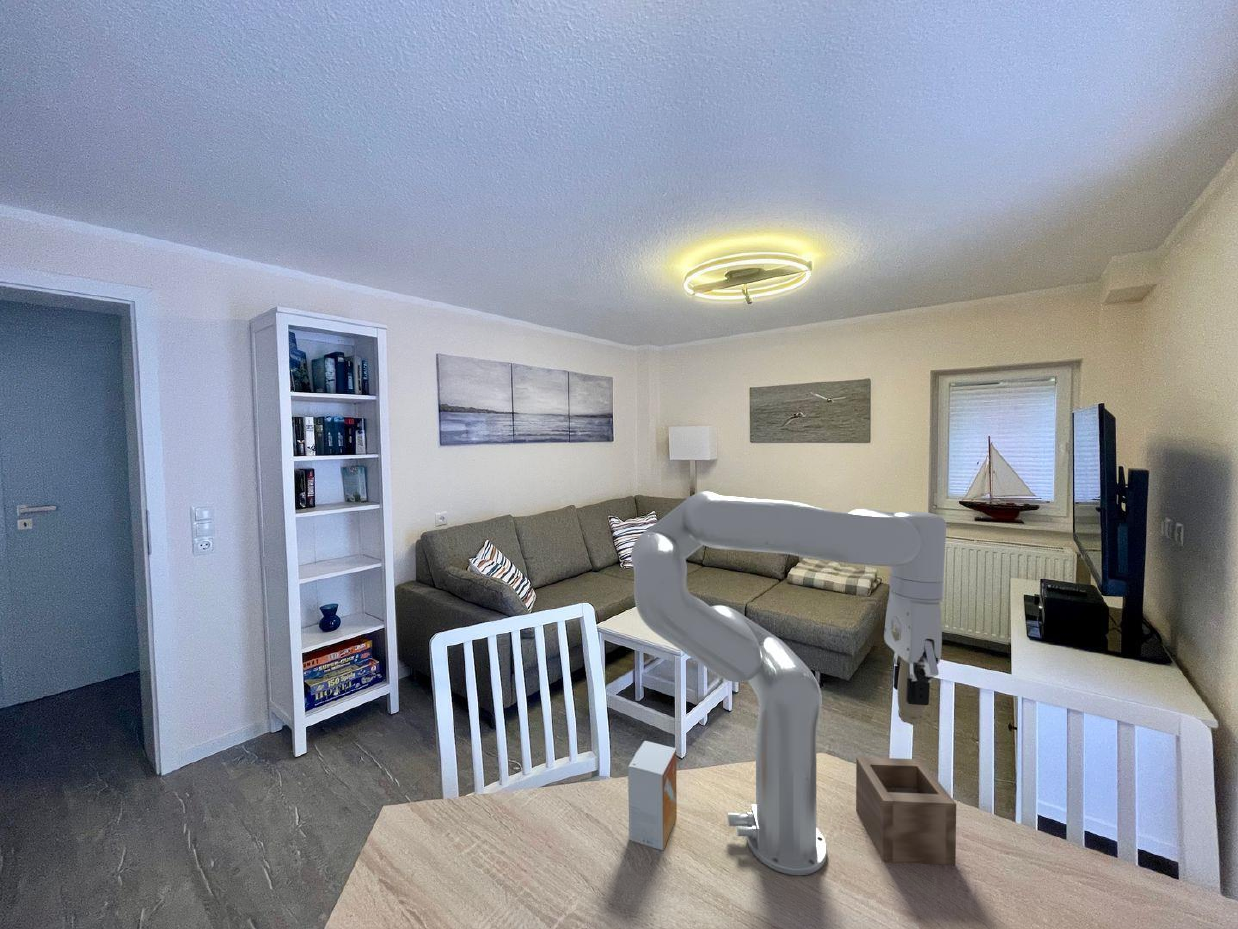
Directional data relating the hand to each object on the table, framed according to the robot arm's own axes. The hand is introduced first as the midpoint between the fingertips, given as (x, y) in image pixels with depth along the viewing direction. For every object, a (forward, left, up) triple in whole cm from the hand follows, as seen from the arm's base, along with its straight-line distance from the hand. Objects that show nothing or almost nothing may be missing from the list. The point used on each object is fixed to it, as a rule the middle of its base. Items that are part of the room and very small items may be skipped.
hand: (910, 695), depth 83 cm
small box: (-43, 0, -25) cm, 49 cm away
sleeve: (-1, +1, -25) cm, 25 cm away
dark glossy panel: (-1, +1, -20) cm, 20 cm away
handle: (0, 0, -4) cm, 4 cm away
